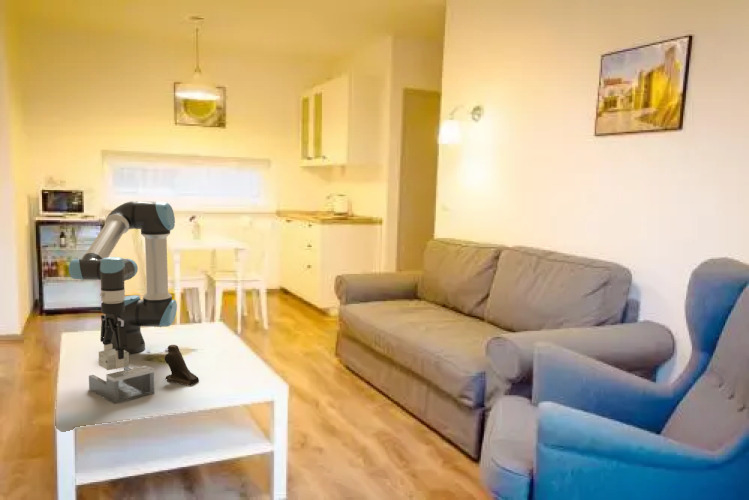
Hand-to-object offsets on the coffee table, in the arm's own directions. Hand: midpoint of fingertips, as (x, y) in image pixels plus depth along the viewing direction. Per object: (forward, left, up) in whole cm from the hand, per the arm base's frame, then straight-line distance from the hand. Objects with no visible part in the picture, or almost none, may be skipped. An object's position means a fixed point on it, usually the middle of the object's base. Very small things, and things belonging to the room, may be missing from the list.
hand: (114, 364), depth 204 cm
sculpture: (+10, +20, -9) cm, 24 cm away
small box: (0, 0, -1) cm, 1 cm away
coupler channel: (+6, 0, -8) cm, 10 cm away
